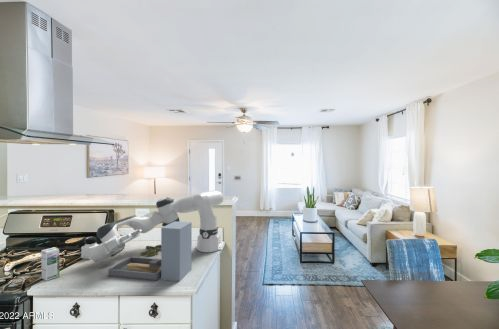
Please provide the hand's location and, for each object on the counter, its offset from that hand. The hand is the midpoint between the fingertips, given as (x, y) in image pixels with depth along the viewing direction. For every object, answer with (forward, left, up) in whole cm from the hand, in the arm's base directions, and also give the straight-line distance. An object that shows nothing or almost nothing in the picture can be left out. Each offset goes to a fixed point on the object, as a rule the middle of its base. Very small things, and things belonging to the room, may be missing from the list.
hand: (135, 232), depth 139 cm
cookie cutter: (-28, -7, -21) cm, 36 cm away
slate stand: (0, +24, -20) cm, 32 cm away
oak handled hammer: (0, +5, -20) cm, 20 cm away
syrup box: (+16, -37, -21) cm, 45 cm away
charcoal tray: (0, +4, -20) cm, 21 cm away
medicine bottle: (-12, -39, -21) cm, 46 cm away
